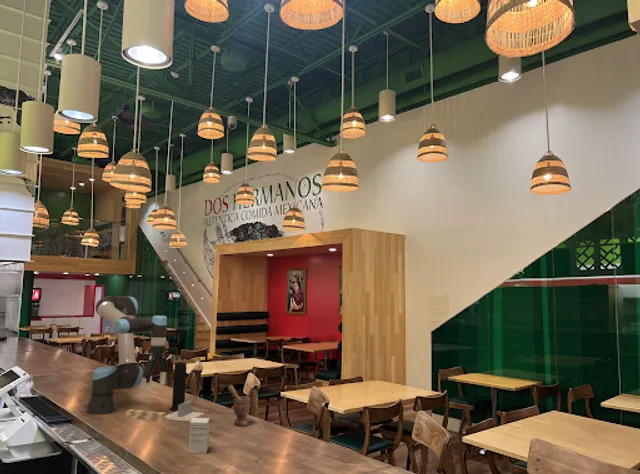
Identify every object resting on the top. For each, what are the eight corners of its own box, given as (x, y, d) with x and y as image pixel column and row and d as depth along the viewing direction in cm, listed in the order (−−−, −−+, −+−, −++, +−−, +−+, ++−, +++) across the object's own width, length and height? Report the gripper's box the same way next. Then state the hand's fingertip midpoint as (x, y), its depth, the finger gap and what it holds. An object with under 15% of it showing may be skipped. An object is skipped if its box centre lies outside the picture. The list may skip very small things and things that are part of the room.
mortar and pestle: (233, 428, 244) (234, 386, 246) (223, 425, 250) (225, 384, 252) (252, 425, 251) (254, 384, 254) (243, 421, 258) (245, 382, 260)
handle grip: (165, 410, 277) (182, 411, 275) (168, 362, 280) (184, 363, 278) (174, 406, 287) (190, 407, 285) (176, 360, 290) (192, 360, 288)
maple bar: (126, 418, 259) (126, 410, 259) (131, 417, 263) (131, 409, 263) (160, 422, 254) (160, 414, 254) (164, 420, 257) (165, 412, 258)
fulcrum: (164, 418, 259) (164, 404, 260) (177, 412, 272) (178, 399, 273) (192, 421, 255) (192, 407, 256) (204, 415, 269) (204, 401, 270)
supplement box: (191, 448, 212) (192, 417, 213) (208, 448, 212) (210, 417, 214) (187, 453, 204) (189, 422, 206) (206, 453, 205) (207, 422, 206)
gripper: (151, 347, 249) (148, 391, 246) (176, 343, 273) (174, 383, 270) (138, 347, 250) (135, 390, 248) (164, 342, 275) (161, 382, 272)
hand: (155, 386), depth 259 cm, fingers open, 13 cm apart
